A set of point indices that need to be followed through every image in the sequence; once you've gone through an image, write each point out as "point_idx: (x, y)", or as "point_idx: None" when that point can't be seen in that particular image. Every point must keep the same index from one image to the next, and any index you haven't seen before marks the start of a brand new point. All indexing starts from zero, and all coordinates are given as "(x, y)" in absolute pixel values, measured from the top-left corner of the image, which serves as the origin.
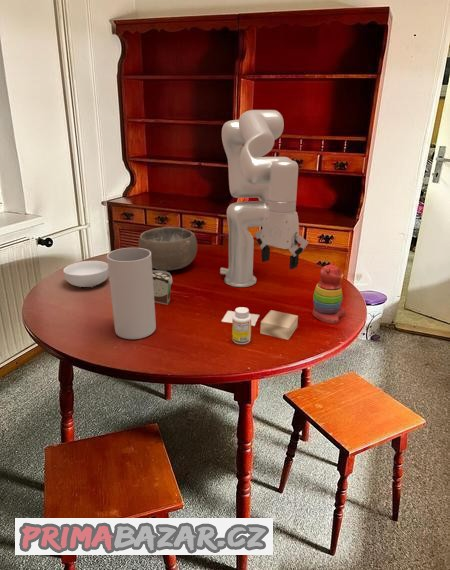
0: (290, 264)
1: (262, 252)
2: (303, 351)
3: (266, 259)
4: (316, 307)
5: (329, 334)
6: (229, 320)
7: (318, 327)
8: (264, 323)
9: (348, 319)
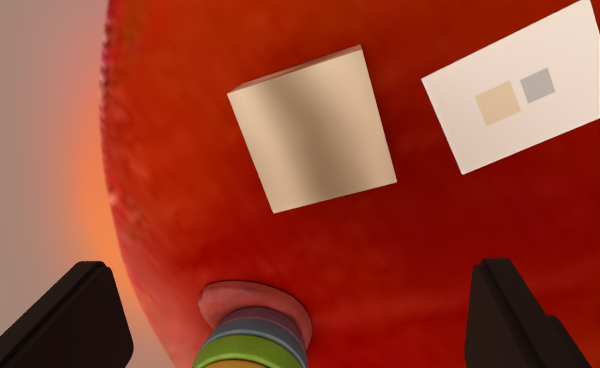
0: (59, 291)
1: (560, 354)
2: (147, 52)
3: (474, 320)
4: (273, 318)
5: (170, 219)
6: (554, 34)
7: (226, 237)
8: (342, 55)
9: (195, 338)
